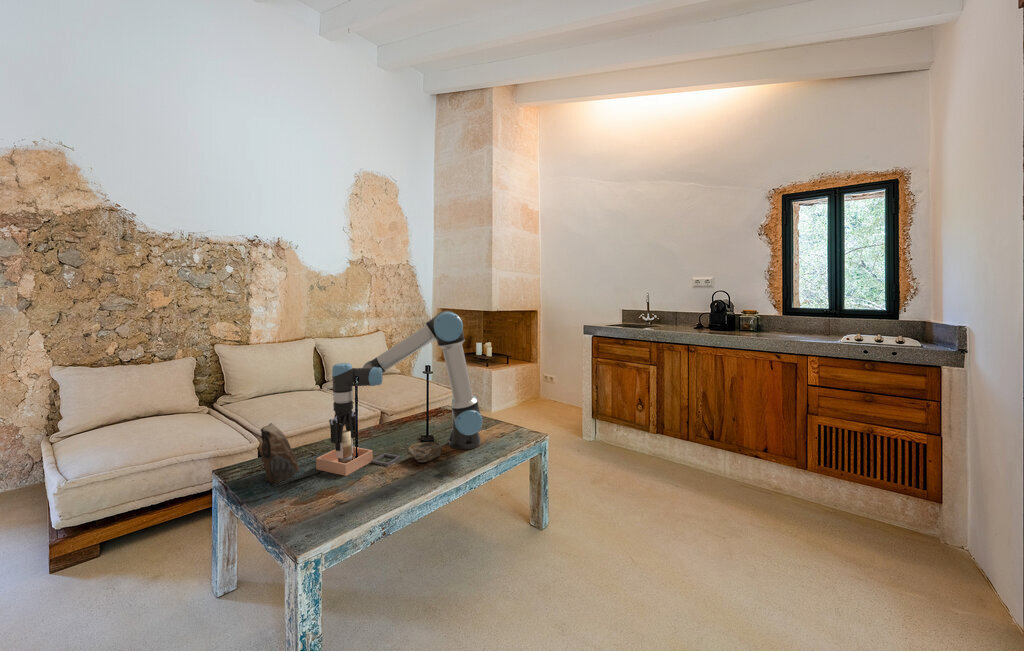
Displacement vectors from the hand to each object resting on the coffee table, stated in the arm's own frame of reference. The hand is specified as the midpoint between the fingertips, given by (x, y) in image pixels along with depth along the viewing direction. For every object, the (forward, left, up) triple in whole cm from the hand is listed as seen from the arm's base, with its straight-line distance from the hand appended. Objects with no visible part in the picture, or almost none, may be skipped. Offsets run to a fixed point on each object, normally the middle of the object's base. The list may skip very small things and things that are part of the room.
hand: (345, 455), depth 175 cm
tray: (0, 0, -4) cm, 4 cm away
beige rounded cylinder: (0, 0, -2) cm, 2 cm away
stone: (-27, -18, -5) cm, 33 cm away
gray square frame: (-13, -10, -4) cm, 17 cm away
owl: (+16, +18, -4) cm, 24 cm away
